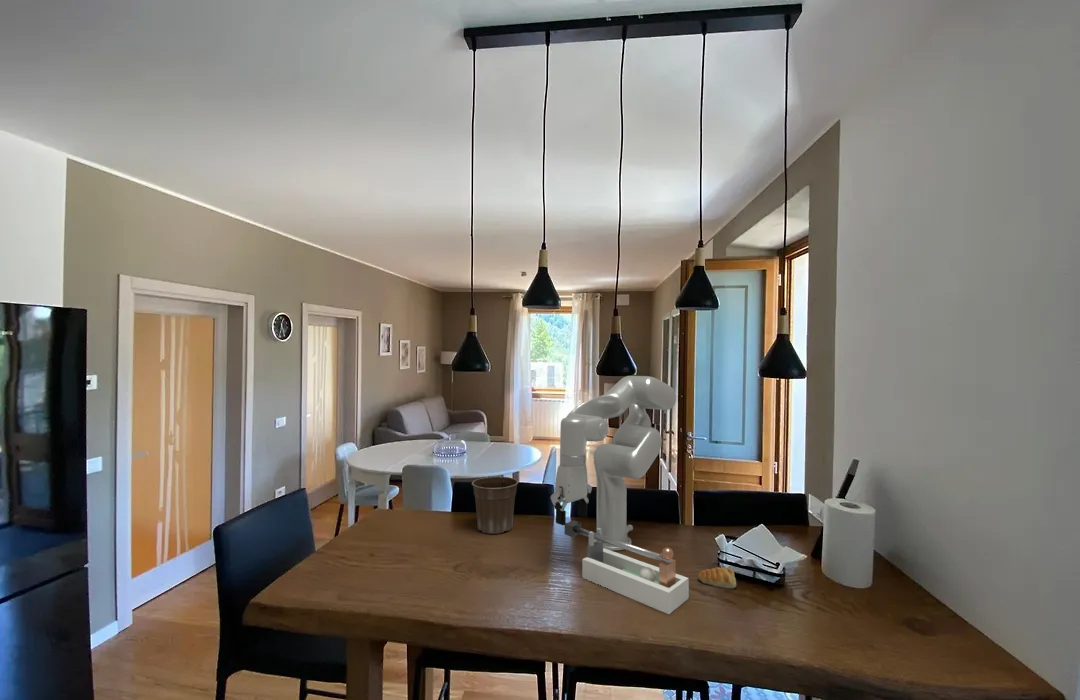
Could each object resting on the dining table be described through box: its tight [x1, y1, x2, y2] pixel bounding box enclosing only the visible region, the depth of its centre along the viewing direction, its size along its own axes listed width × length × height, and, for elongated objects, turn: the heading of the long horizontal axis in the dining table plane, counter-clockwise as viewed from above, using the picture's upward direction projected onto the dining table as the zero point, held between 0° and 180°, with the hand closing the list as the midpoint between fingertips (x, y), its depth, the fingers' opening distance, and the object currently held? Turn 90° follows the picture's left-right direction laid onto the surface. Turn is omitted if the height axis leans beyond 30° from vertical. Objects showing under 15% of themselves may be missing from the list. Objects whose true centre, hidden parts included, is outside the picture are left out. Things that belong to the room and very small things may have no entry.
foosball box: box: [581, 527, 690, 615], centre depth 119 cm, size 10×26×12 cm, turn 46°
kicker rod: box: [564, 520, 677, 588], centre depth 122 cm, size 4×33×10 cm, turn 46°
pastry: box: [697, 566, 737, 589], centre depth 122 cm, size 9×7×4 cm
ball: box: [640, 567, 656, 582], centre depth 116 cm, size 4×4×4 cm
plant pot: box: [471, 476, 519, 535], centre depth 160 cm, size 16×16×16 cm
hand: (571, 520), depth 132 cm, fingers open, 9 cm apart
